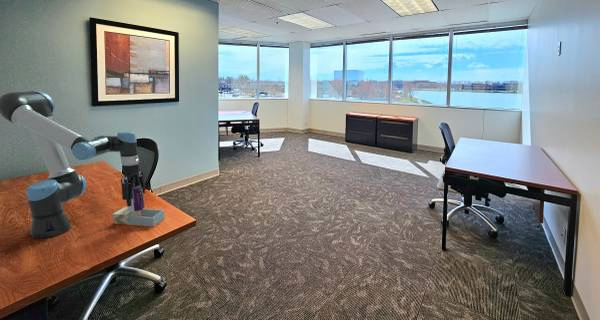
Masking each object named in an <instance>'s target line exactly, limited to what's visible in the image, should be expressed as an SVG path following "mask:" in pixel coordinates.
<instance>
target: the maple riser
mask: <svg viewBox="0 0 600 320" xmlns="http://www.w3.org/2000/svg"><path fill="white" fill-rule="evenodd" d="M128 216H139V217H141V212H140V211H135V212H129V211H128V206H124V207H123V208H121V209H119V210H117V211H116V212H113V213H112V220H113V224H116V225H117V224H119V225H120V224H121V225H129V218H128Z"/></svg>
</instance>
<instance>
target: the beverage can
mask: <svg viewBox="0 0 600 320" xmlns="http://www.w3.org/2000/svg"><path fill="white" fill-rule="evenodd" d="M143 195H144V193H143V191H142V188H141V185H135V184H134V185H133V189H132V198H131V199H133V204H134V211H140V210H142V209H145V207H146V206H144V205H145V199H144V198H145V197H144V198H143Z"/></svg>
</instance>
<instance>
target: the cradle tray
mask: <svg viewBox="0 0 600 320" xmlns="http://www.w3.org/2000/svg"><path fill="white" fill-rule="evenodd" d="M128 218H129V224H128V225H132V226H133V225H134V226H143V227H144V226H146V227H155V226H156V225H158V224H159V223H160V222H162V221H164V220H165V218H166V216H165V210H164V209H156V208H155V209H152V208H143V209H142V210H140V217H139V216H128Z"/></svg>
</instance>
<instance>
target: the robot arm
mask: <svg viewBox="0 0 600 320" xmlns="http://www.w3.org/2000/svg"><path fill="white" fill-rule="evenodd" d="M55 108H56V105H55V102H54V100H53V99H52V98H51V96H50V95H48V94H47V93H45V92H42V91H36V90H29V91H10V92H7V93H4V94H2V95H1V96H0V116H1V117H3V119H5V120H7V122H10V123H11V124H13V125H16V126H23V127H25V128H27V129H29V130H30V131H31V133H32V136H33V138H34V140H35V142H36V144H37V148H38V150H39V151H40V154H41V156H42V159H43V161H44V163H45V166H46V167H47V169H48V172H49V175H48V176H47V179H44V180H41V181H36V182H34V183H32V184H30V185H29V186H27V188H26V198H27V201H28V207H29V210H30V214H31V218H32V219H31V225H30V229H29V234H30V236H31V238H33V239H43V238H45V239H46V238H51V237H54V236H55V237H56V236H58V235H59V236H60V235H62V234H64V233H66V232H68V231H69V230H70V229H71V227H72V224H71V221H70V220H69V218H68V217H67V215H66V213H64V209H63V208H64V207H63V204H65V203H66V202H69V201H72V200H73V199H76V198H78V197H79V196H81V195H83V194H84V192H85V191H86V189H87V181H86V178H85V177H84V176H83V175H81V174H80V173H77V171H76V169H74V168H72V167H71V166H70V164H69V161H68V159H67V156H66V154H65V152H64V148H65V149H68V150H70V151H71V152H72V156H74V157H75V159H77V160H79V161H85V160H91V159H93V158H95V157H98V156H102V155H104V154H107V153H119V156H120V163H121V167H122V168H121V171H122V173H123V174H124V178H123V179H120V184H121V195H122V200H124V201H126V207H128V211H129V212H135V211H134V204H133V199H131V198H132V189H133V185H141V188H142V191H143V198H145V197H144V194H145V193H146V190H147V188H146V184H145V178H144V172H143V171H141V167H140V159H139V153H138V145H137V144H138V142H137V138H136V137H137V135H136V133H135V132H134V131H130V130H129V131H120V132H119V131H118V133H117V134H116V135H97V136H94V137H93V138H92V139H89V138H87V137H85V136H82V135H80V134H79V133H77V132H74V131H73V130H72V129H70V128H67V127H66V126H64V125H62V124H59V123H57V122H56V121H54V120H53V119H54V115H53V113H54V111H55ZM63 147H64V148H63ZM144 206H145V204H144ZM145 207H146V206H145Z"/></svg>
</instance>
